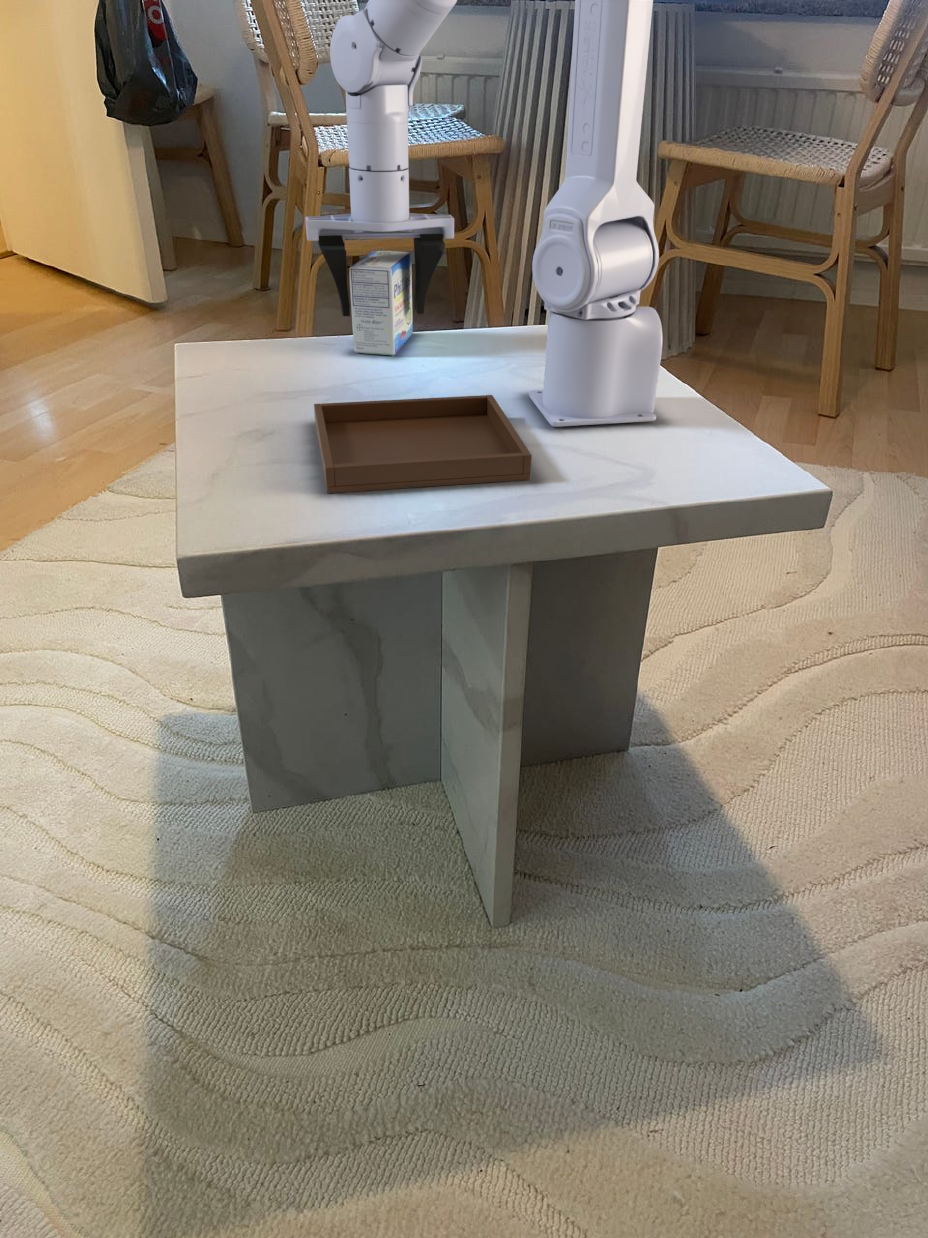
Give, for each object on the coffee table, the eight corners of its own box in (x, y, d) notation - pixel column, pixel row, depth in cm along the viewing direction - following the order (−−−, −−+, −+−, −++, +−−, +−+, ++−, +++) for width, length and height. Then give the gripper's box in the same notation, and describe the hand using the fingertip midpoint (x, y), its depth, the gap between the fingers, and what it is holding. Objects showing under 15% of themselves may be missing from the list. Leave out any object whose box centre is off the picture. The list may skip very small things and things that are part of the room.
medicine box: (394, 356, 93) (392, 267, 88) (352, 353, 94) (348, 264, 89) (413, 335, 99) (412, 251, 95) (374, 332, 100) (371, 248, 95)
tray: (491, 416, 79) (492, 394, 78) (530, 479, 69) (532, 455, 68) (315, 426, 77) (313, 403, 76) (327, 493, 66) (325, 468, 65)
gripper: (445, 161, 92) (444, 300, 99) (300, 162, 89) (310, 304, 97) (459, 171, 86) (456, 318, 94) (304, 172, 84) (314, 322, 91)
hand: (382, 312), depth 95 cm, fingers open, 7 cm apart
